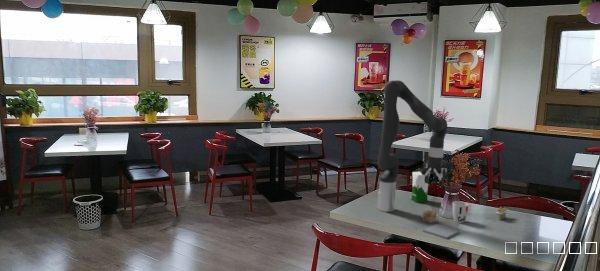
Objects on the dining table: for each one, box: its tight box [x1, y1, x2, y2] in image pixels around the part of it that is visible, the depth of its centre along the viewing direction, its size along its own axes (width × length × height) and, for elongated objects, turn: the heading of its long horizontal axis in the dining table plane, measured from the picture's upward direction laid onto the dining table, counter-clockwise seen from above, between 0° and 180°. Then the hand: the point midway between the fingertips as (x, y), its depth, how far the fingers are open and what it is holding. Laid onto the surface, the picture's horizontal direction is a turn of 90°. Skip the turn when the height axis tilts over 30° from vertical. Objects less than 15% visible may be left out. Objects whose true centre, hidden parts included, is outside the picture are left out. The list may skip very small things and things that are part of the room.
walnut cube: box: [422, 209, 437, 224], centre depth 235 cm, size 5×5×5 cm
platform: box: [495, 206, 509, 221], centre depth 241 cm, size 12×18×7 cm, turn 136°
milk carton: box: [411, 168, 429, 204], centre depth 270 cm, size 9×9×20 cm
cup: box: [452, 201, 470, 224], centre depth 235 cm, size 8×8×10 cm
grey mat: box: [422, 223, 461, 240], centre depth 219 cm, size 13×13×1 cm
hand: (433, 185), depth 232 cm, fingers open, 8 cm apart
